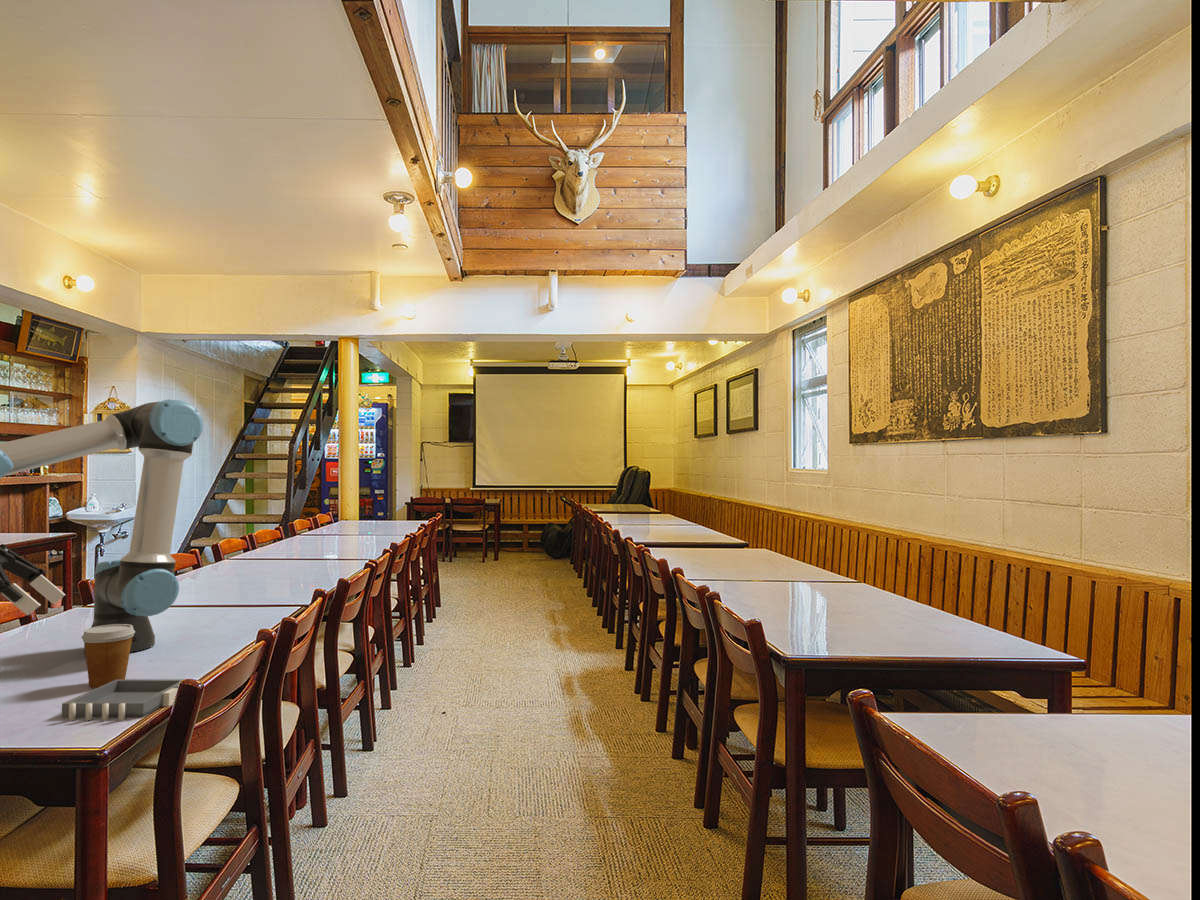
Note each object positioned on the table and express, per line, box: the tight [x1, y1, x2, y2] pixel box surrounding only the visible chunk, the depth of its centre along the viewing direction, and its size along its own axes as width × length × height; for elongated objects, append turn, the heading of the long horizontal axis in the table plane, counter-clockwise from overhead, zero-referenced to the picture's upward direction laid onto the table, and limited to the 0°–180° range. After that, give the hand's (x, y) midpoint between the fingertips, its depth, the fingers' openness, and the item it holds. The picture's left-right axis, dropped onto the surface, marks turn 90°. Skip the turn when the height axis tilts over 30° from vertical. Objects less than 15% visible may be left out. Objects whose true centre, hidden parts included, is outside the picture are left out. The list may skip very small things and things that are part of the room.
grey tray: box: [61, 678, 186, 722], centre depth 135 cm, size 17×16×3 cm
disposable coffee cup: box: [81, 624, 135, 689], centre depth 148 cm, size 10×10×12 cm
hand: (47, 604), depth 145 cm, fingers open, 13 cm apart
